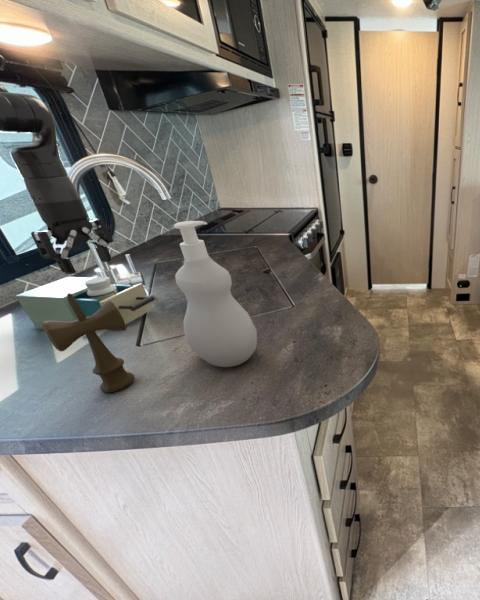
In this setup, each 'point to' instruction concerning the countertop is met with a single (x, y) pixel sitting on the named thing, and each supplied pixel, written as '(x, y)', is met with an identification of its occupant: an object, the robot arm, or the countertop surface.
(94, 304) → the drawer
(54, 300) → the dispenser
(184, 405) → the countertop surface
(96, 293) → the pill bottle
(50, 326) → the kendama
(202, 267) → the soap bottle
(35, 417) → the countertop surface
